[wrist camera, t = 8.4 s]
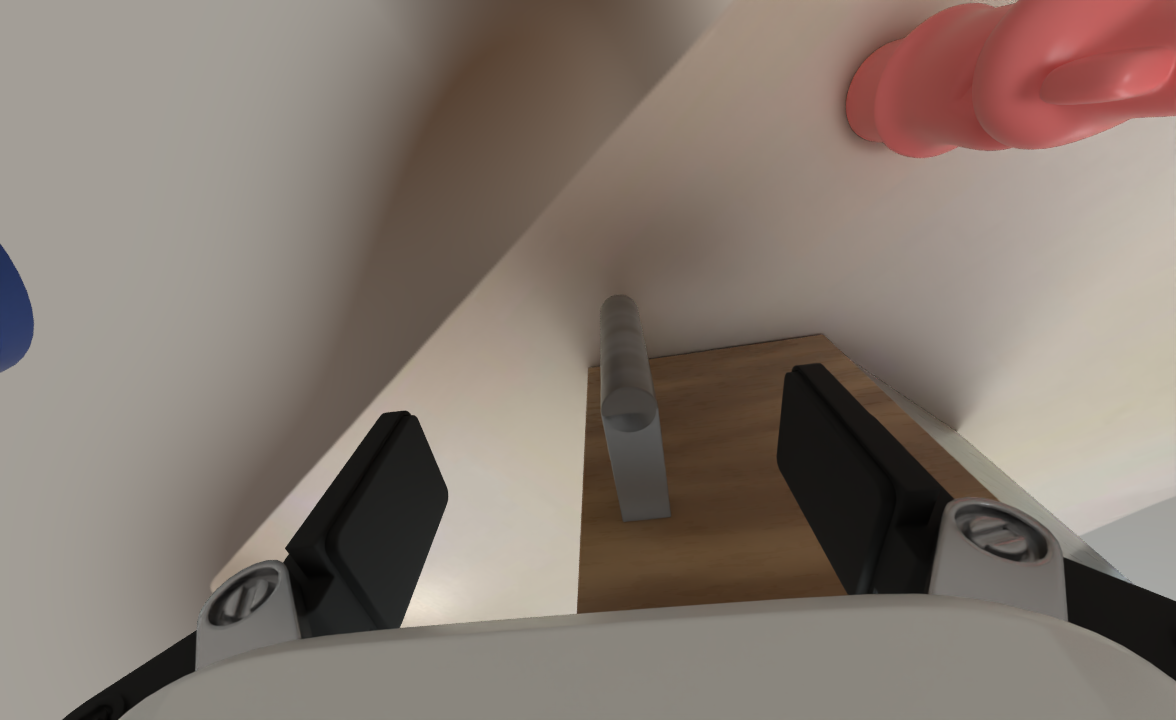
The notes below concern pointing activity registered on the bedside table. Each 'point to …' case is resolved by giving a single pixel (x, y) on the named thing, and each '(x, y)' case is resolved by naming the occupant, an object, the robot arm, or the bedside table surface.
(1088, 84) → the figurine
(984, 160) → the bedside table surface
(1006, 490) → the cabinet
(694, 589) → the door
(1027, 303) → the bedside table surface
